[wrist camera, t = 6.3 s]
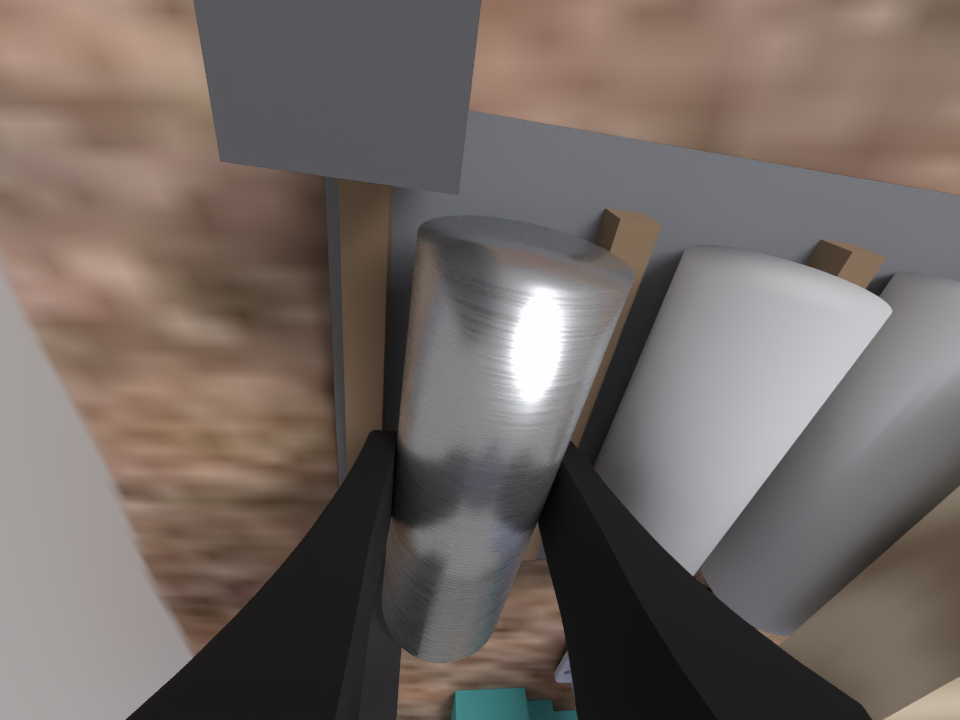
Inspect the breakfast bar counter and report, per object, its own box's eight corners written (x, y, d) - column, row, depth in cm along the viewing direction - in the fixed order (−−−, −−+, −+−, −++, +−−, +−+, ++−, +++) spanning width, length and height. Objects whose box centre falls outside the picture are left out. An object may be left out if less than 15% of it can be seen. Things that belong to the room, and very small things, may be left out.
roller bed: (891, 572, 22) (1039, 731, 16) (344, 568, 18) (302, 777, 12) (1339, 199, 12) (2097, 291, 6) (321, -10, 8) (37, -248, 2)
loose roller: (421, 204, 9) (411, 272, 6) (592, 232, 10) (675, 308, 6) (388, 539, 15) (374, 664, 12) (493, 541, 16) (508, 661, 13)
